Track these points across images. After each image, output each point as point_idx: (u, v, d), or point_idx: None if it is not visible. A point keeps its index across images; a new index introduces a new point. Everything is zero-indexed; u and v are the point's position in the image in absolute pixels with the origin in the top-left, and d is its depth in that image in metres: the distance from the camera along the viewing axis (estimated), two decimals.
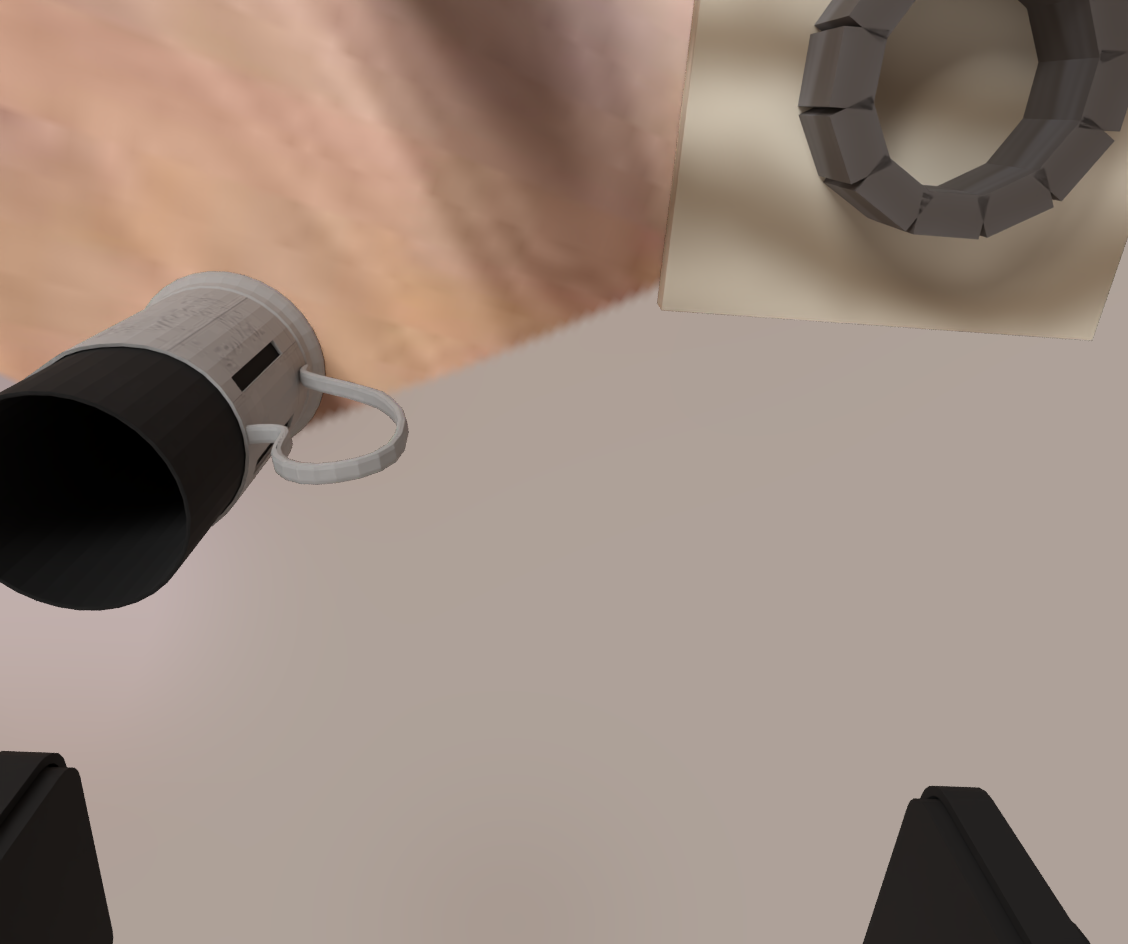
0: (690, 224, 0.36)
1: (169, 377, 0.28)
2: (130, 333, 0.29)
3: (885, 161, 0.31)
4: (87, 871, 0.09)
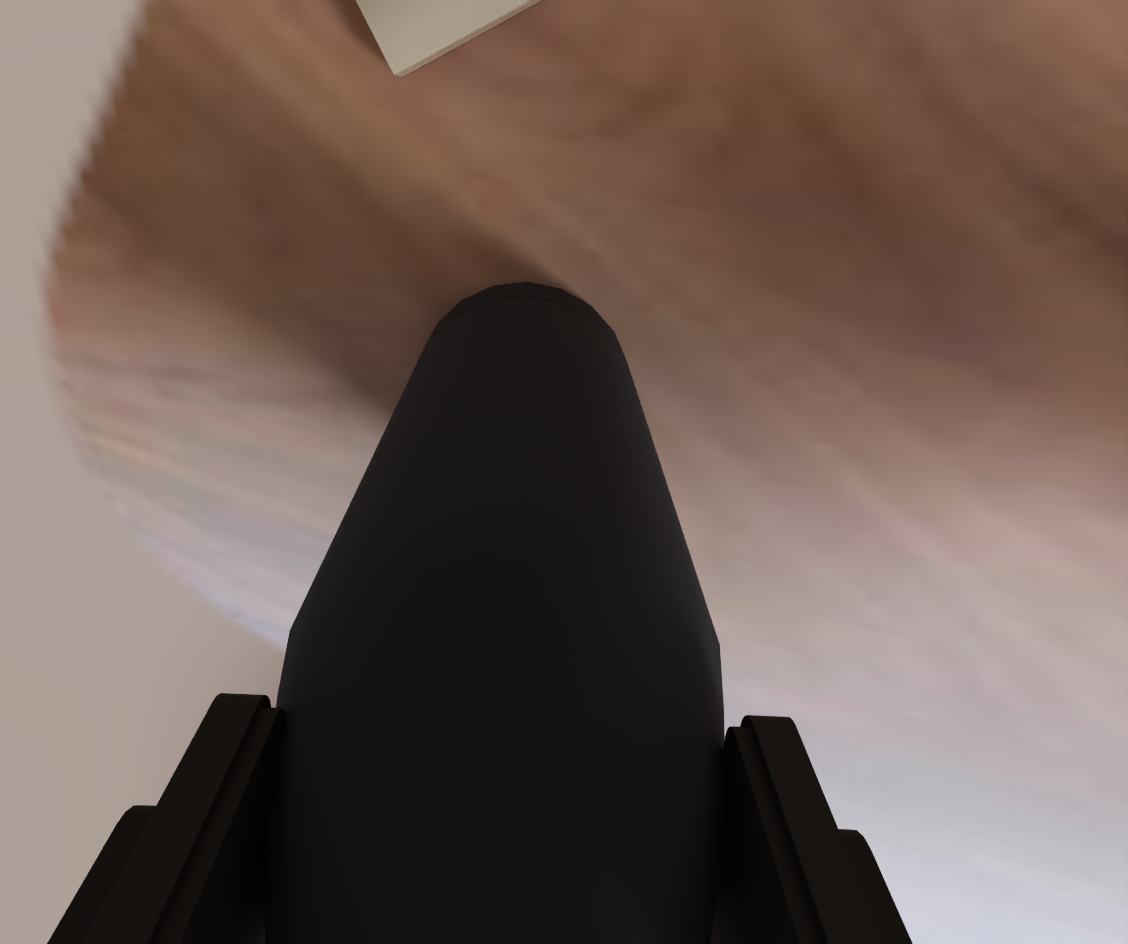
0: None
1: None
2: None
3: None
4: None
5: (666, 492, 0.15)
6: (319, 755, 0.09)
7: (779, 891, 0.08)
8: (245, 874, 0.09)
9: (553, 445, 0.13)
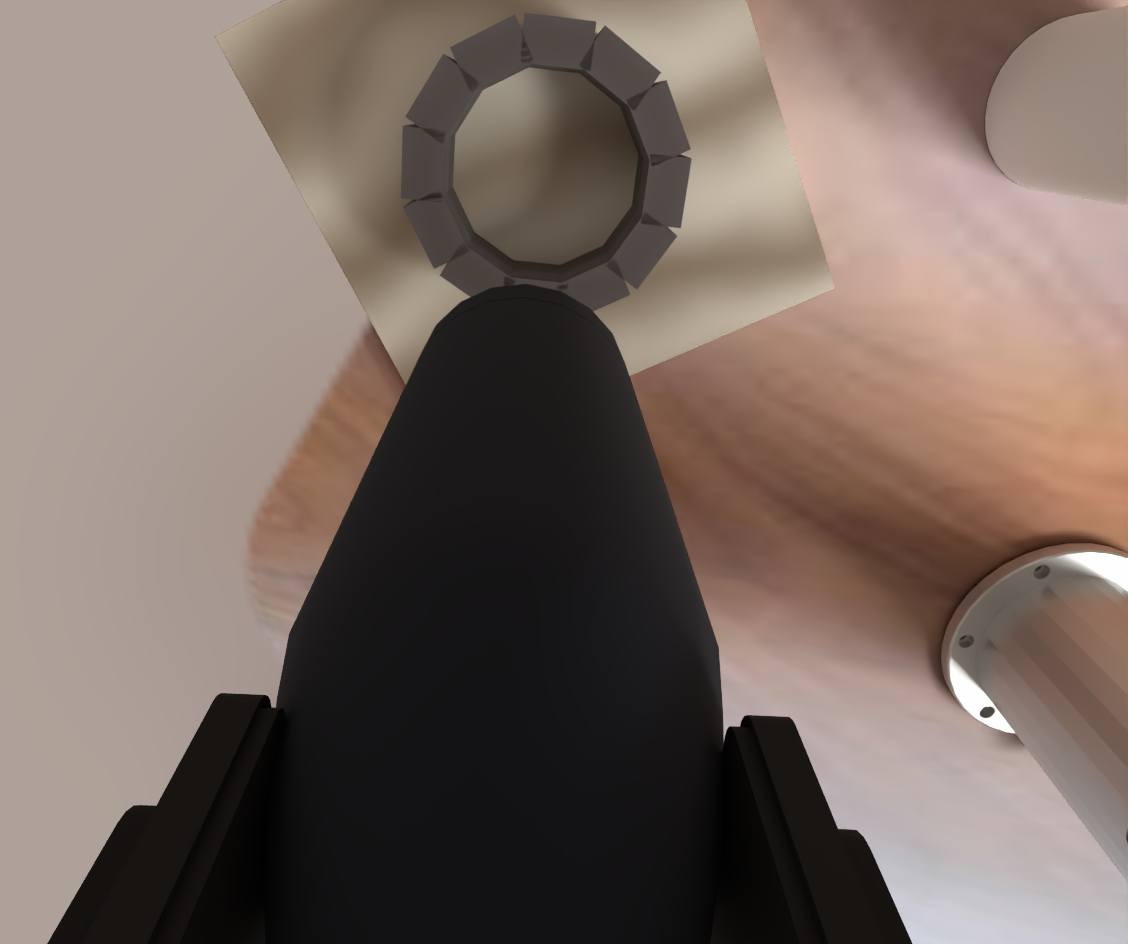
0: None
1: None
2: None
3: (586, 64, 0.30)
4: None
5: (665, 494, 0.15)
6: (319, 760, 0.09)
7: (779, 891, 0.08)
8: (245, 875, 0.09)
9: (553, 448, 0.13)
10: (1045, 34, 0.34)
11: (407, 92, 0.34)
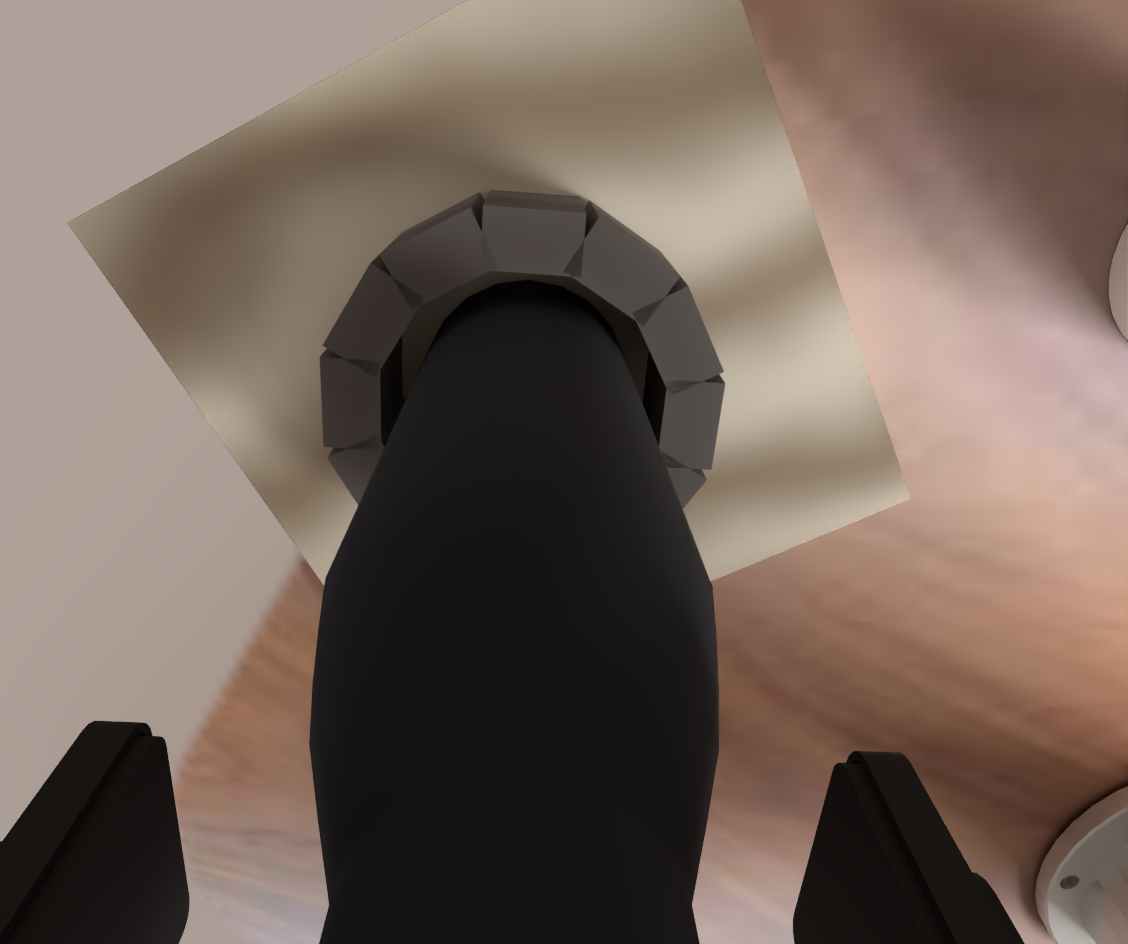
0: (721, 35, 0.23)
1: None
2: None
3: (574, 270, 0.21)
4: (170, 836, 0.09)
5: (662, 460, 0.16)
6: (363, 664, 0.10)
7: None
8: (106, 918, 0.08)
9: (559, 412, 0.14)
10: None
11: (334, 283, 0.25)
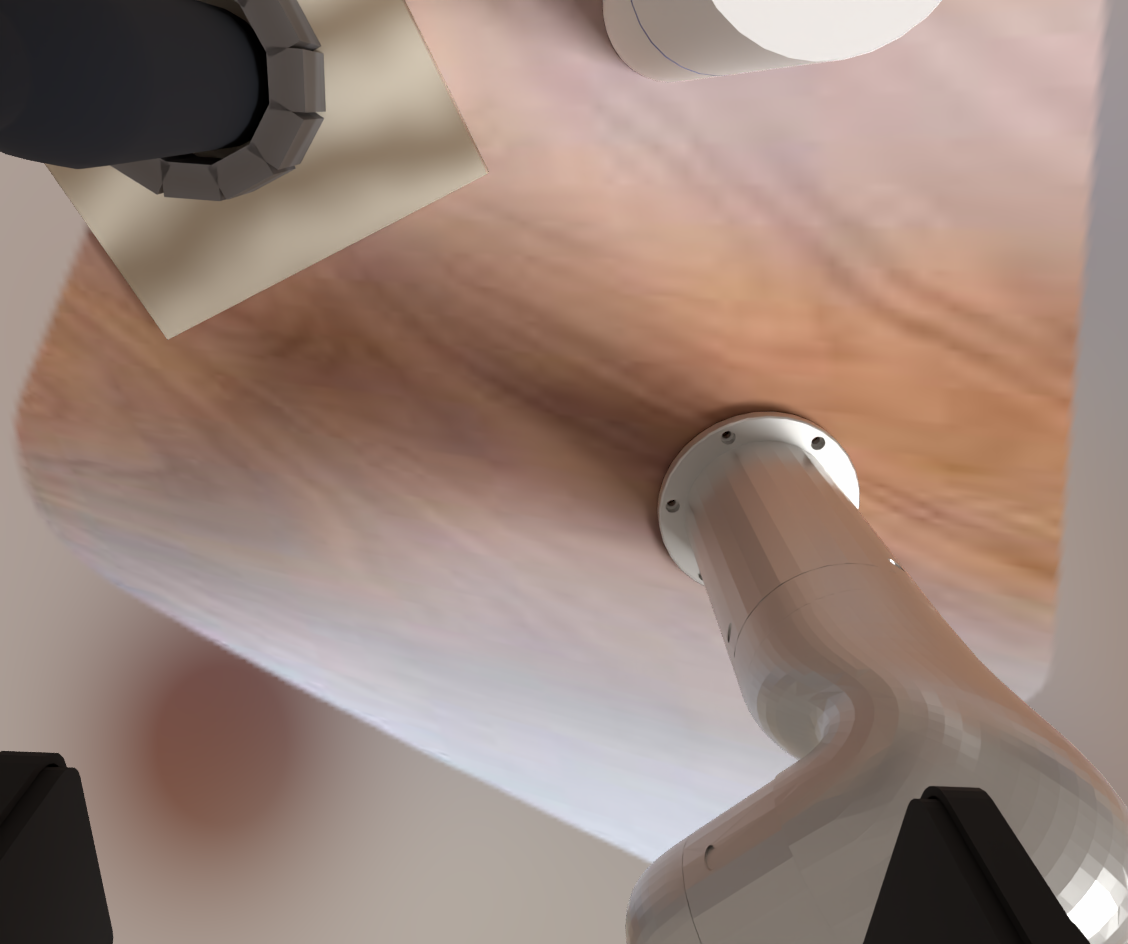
0: None
1: None
2: None
3: None
4: (87, 871, 0.09)
5: (180, 26, 0.31)
6: None
7: None
8: None
9: None
10: None
11: None
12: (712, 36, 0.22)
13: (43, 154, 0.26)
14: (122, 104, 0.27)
